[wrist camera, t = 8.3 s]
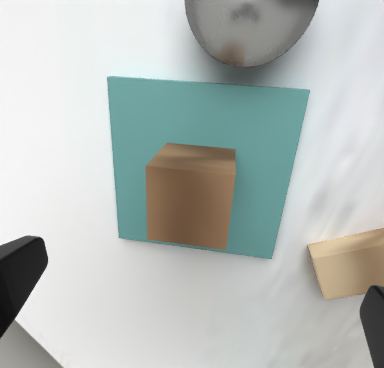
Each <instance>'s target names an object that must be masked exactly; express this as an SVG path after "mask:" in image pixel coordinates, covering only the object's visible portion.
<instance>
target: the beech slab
mask: <svg viewBox="0 0 384 368" xmlns="http://www.w3.org/2000/svg"><path fill="white" fill-rule="evenodd" d="M308 249H309V252H310V256H311V259H312V263H313V266H314V270H315V273H316V277H317V280H318V284H319V286H320V289H321V292H322V294H323V297H324V299H325V300H328V299H335V298H341V297H348V296H354V295H361V294H366V293H367V290H368V288H369V287H370V286H371V285H381V286H384V228H382V229H377V230H373V231H368V232H364V233H359V234H354V235H350V236H345V237H340V238H336V239H331V240H326V241H322V242H317V243H313V244H308Z"/></svg>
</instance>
